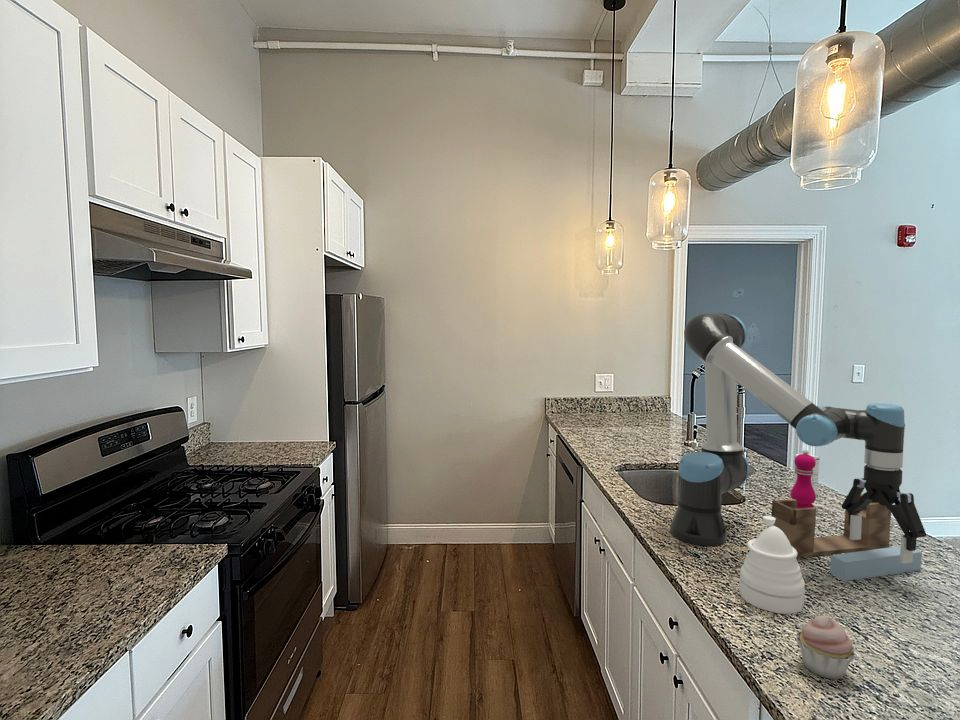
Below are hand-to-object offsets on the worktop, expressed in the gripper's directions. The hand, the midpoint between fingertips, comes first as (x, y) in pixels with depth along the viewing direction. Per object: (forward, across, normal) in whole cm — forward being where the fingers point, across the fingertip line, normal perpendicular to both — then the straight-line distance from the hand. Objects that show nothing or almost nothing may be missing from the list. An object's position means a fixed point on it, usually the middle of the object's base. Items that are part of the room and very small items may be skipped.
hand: (879, 550), depth 131 cm
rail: (+6, 0, 0) cm, 6 cm away
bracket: (+5, +14, 0) cm, 15 cm away
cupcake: (+6, -28, +43) cm, 52 cm away
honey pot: (+6, -6, +35) cm, 36 cm away
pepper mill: (+5, +42, -16) cm, 45 cm away
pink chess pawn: (+5, +54, -28) cm, 60 cm away
